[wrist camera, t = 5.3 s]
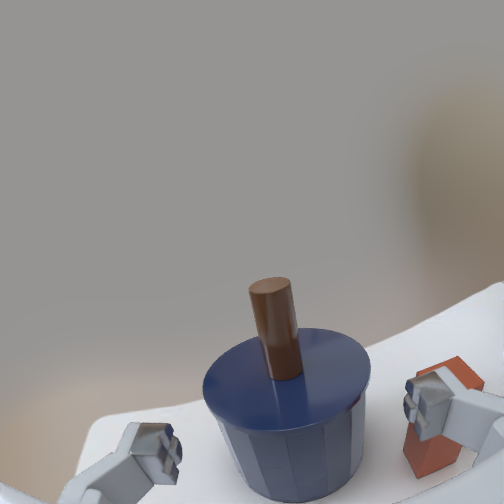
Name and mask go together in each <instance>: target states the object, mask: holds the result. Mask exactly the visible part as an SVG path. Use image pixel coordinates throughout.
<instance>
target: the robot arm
mask: <svg viewBox="0 0 504 504" xmlns="http://www.w3.org/2000/svg"><path fill="white" fill-rule="evenodd" d="M405 389H406V391H407V392H408V393H407V395H406V396H405V397H404V404H403V406H404V412H405V415H406V417H407V419H408V421H409V422H411V423H414V424H415V425H414V431H415V433H416V435H417V436H418V438H419V440H420V442H422V441H425V440H427V439H430V438H432V437H435V436H437V435H439V434H442V435H443V436H445V437H447V438H449V439H451V440H453V441H455V442H457V443H459V444H461V445H463V446H465V447H467V448H469V449H471V450H473V451H475V452H477V453H479V454H478V456H477V457H476V459H475V461H474V463H473V465H472V468H470V469H469V470H467V471H465V472H463V473H461V474H459V475H457V476H456V477H454V478H452V479H450V480H448V481H446V482H443V483H441V484H439V485H437V486H435V487H433V488H431V489H428V490H426V491H424V492H421V493H419V494H417V495H414V496H412V497H409V498H407V499H404V500H401V501H399V502H396V503H393V504H504V397H501V396H497V395H493V394H489V393H486V392H482V391H478V390H475V389H469V390H467V388H466V387H465V386H464V385H463V384H462V383H461V382H460V381H459V380H458V379H457V378H456V376H455V375H454V374H453V373H452V372H451V371H450V370H449V369H448V368H447V367H446V366H442V367H440V368H437V369H435V370H432V371H430V372H428V373H425V374H422V375H420V376H417V377H414V378H412V379H409V380H407V382H406V386H405ZM173 432H174V430H173V428H172V426H171V424H168V423H133V422H131V423H129V424H128V425H127V427H126V429H125V431H124V433H123V436H122V438H121V440H120V442H119V445H118V447H117V449H116V451H115V453H110V454H109V455H107V456H106V457H104V458H103V459H101V460H100V461H98V462H97V463H95V464H94V465H92V466H91V467H89V468H88V469H86V470H85V471H83V472H82V473H80V474H79V475H77V476H76V477H74V478H73V479H71V480H70V481H68V482H67V484H66V485H65V488H64V489H63V492H62V493H61V495H60V498H59V499H58V502H57V504H137V503H138V502H139V501H140V500H141V499H142V497H143V496H144V495H145V494H146V493H147V492H148V491H149V490H150V489H151V488H152V487H153V486H154V484H160V485H176V483H177V479H178V474H179V470H178V468H177V467H176V466H177V465H178V464H179V463H181V460H182V446H181V443H180V441H179V439H178V438H177V437H175V436H174V435H173ZM0 504H51V503H48V502H45V501H43V500H41V499H38V498H35V497H33V496H31V495H28V494H26V493H24V492H21V491H19V490H17V489H15V488H13V487H11V486H9V485H7V484H5V483H3V482H1V481H0Z"/></svg>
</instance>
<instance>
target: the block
mask: <svg viewBox="0 0 504 504" xmlns="http://www.w3.org/2000/svg"><path fill="white" fill-rule="evenodd" d="M442 366H446V367H447V368H448V369H449V370H450V371H451V372H452V373H453V374H454V375H455V376H456V378H457V379H458V380H459V381H460V382H461V383H462V384H463V385H464V386H465V387H466V388H467V390H469V389H475V390H478V391H482V390H483V387H484V383H485V382H484V381H483V380H482V379H481V378H480V377H479V376H478V375H477V374H476V373H475V372H474V371H473V370H472V369H471V368H470V367H469V366H468V365H467V364H466V363H465V362H464V361H463V360H462V359H461V358H460V357H459V356H456V357H454V358H451V359H449V360H447V361H444V362H442V363H439V364H437V365H434V366H432V367H429V368H426V369H424V370H421V371H418V372H417V374H416V377H417V376H420V375H422V374H425V373H428V372H430V371H432V370H435V369H437V368H440V367H442ZM414 425H415V424H414V423H411V422H409V425H408V430H407V434H406V439H405V444H404V448H403V451H404V453H405V455H406V457H407V459H408V461H409V463H410V465H411V467H412V469H413V471H414V473H415V475H416V477H417V479H418V478H421V477H423V476H425V475H428V474H430V473H432V472H434V471H437V470H439V469H441V468H443V467H445V466H447V465H449V464H451V463H453V462H455V461H456V458H457V456H458V454H459V452H460V450H461V447H462V445H461V444H459V443H457V442H455V441H453V440H451V439H449V438H447V437H445V436H443V435H442V434H439V435H437V436H435V437H432V438H430V439H427V440H425V441H422V442H420V440H419V438H418V436H417V435H416V433H415V431H414Z"/></svg>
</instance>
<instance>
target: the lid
mask: <svg viewBox="0 0 504 504" xmlns="http://www.w3.org/2000/svg"><path fill="white" fill-rule="evenodd" d="M249 295H250V299H251V304H252V308H253V313H254V318H255V322H256V327H257V331H258V336H257V337H254V338H252V339H249V340H247V341H245V342H242V343H240V344H238V345H236V346H235V347H233V348H231V349H230V350H228V351H227V352H225V353H224V354H223V355H222V356H220V357H219V358H218V359H217V360H216V361H215V362H214V363H213V364H212V366H211V367H210V368H209V370H208V371H207V373H206V375H205V378H204V381H203V396H204V400H205V402H206V405H207V407H208V409H209V410H210V412H211V413H212V414H213V415H214V417H216V418H217V419H218V420H219V421H220V422H222V423H223V424H225V425H226V426H228V427H230V428H232V429H235V430H237V431H239V432H243V433H247V434H250V435H256V436H264V437H282V436H292V435H297V434H302V433H306V432H309V431H313V430H316V429H319V428H321V427H323V426H325V425H328V424H330V423H332V422H333V421H335V420H337V419H339V418H340V417H342V416H343V415H344V414H346V413H347V412H348V411H349V410H351V409H352V408H353V407H354V406H355V405H356V404H357V403H358V402H359V400H360V399H361V397H362V396H363V395H364V393H365V391H366V389H367V387H368V384H369V381H370V374H371V365H370V359H369V357H368V354H367V352H366V351H365V350H364V348H363V347H362V346H361V345H360V344H359V343H358V342H356V341H355V340H354V339H352V338H350V337H348V336H346V335H343V334H341V333H338V332H334V331H330V330H325V329H314V328H298V326H297V320H296V313H295V307H294V301H293V295H292V289H291V283H290V280H289V279H287V278H282V277H273V278H267V279H263V280H260V281H257V282H255V283H254V284H252V285H251V286H250V287H249Z"/></svg>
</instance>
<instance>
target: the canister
mask: <svg viewBox="0 0 504 504" xmlns="http://www.w3.org/2000/svg"><path fill="white" fill-rule="evenodd" d="M216 419H217V418H216ZM364 419H365V393H364V395H363V396H362V397H361V399H360V400H359V402H358V403H357V404H356V405H355V406H354V407H353V408H352V409H351V410H349V411H348V412H347V413H346V414H344V415H343V416H342V417H340V418H339V419H337V420H335V421H333V422H332V423H330V424H328V425H325V426H323V427H321V428H319V429H316V430H313V431H309V432H306V433H302V434H297V435H292V436H282V437H264V436H256V435H250V434H247V433H243V432H239V431H237V430H235V429H232V428H230V427H228V426H226V425H225V424H223V423H222V422H220V421H219V420H218V419H217V422H218V424H219V427H220V429H221V432H222V434H223V436H224V439H225V441H226V444H227V446H228V448H229V451H230V453H231V455H232V458H233V460H234V462H235V464H236V467H237V469H238V471H239V473H240V474H241V476H242V477H243V479H244V481H245V482H246V483H247V484H248V486H249V487H250V488H251V489H253V490H254V491H255V492H257V493H258V494H260V495H262V496H264V497H266V498H268V499H271V500H275V501H280V502H286V503H299V502H307V501H312V500H316V499H319V498H322V497H325V496H327V495H329V494H331V493H333V492H335V491H336V490H338V489H339V488H341V487H342V486H343V485H345V484H346V483H347V482H348V481H349V480H350V479H351V478H352V476H353V475H354V474H355V472H356V470H357V469H358V467H359V464H360V462H361V460H362V451H363V437H364Z"/></svg>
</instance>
